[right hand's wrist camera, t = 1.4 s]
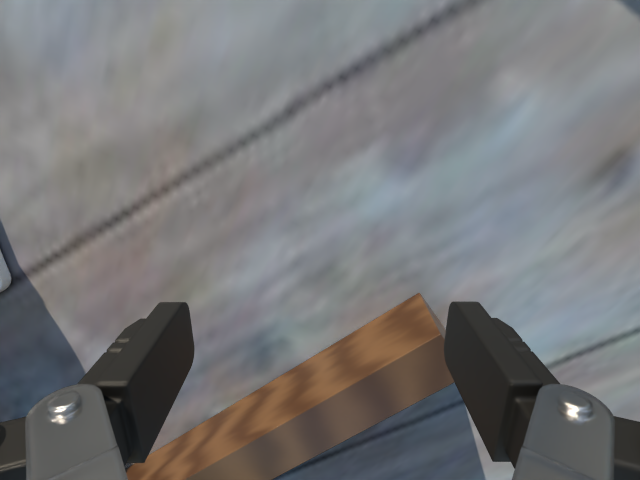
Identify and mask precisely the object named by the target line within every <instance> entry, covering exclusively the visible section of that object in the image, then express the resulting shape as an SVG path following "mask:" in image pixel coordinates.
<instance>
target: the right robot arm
mask: <svg viewBox="0 0 640 480" xmlns="http://www.w3.org/2000/svg"><path fill="white" fill-rule="evenodd" d="M444 357H445V362H446V365H447V367H448V370H449V372H450V374H451V376H452V378H453V380H454V382H455V384H456V386H457V388H458V390H459V392H460V394H461V397H462V399H463V401H464V403H465V405H466V407H467V409H468V411H469V413H470V415H471V417H472V419H473V421H474V424H475V426H476V428H477V430H478V432H479V434H480V436H481V438H482V440H483V442H484V444H485V446H486V448H487V451H488V453H489V455H490V457H491V459H492V461H493V462H511V463H512V465H513V467H514V468H515V471H514V474H513V478H512V480H640V422H637V421H633V420H629V419H624V418H620V417H615V416H613V414H612V413H611V411H610V410H609V409H608V408H607V406H606V405H604V404H603V403H602V402H601V401H600V400H598V399H597V398H596V397H594V396H592V395H591V394H589V393H587V392H585V391H583V390H580V389H578V388H575V387H572V386H568V385H563V384H560V383H559V382H558V381H557V380H556V378H555V377H554V376H553V375H552V374H551V373H550V371H549V370H548V369H547V368H546V367H545V365H544V364H543V363H542V362H541V361H540V360H539V358H538V357H537V356H536V355H535V354H534V353H533V352H531V349H530V348H529V347H528V346H527V344H526V343H525V342H522V339H521V337H520V336H519V335H518V334H517V333H516V332H515V330H514V329H513V328H512V327H510V326H509V325H507V324H506V323H504V322H502V321H501V320H499V319H498V318H491V317H490V316H489V314H488V313H487V312H486V311H485V309H484V308H483V307H482V306H481V304H480V303H479V302H452V303H451V304H450V306H449V312H448V319H447V326H446V334H445V341H444ZM193 358H194V341H193V334H192V326H191V319H190V312H189V307H188V305H187V303H185V302H161V303H159V304H158V305H157V306H156V307H155V308H154V310H153V311H152V312H151V313H150V315H149V316H148V317H147V318H146V319H140V320H138V321H136V322H135V323H133V324H132V325H130V326H129V327H127V328H125V329H124V331H123V332H122V333H121V334H120V335H119V336H118V338H117V339H116V340H115V343H112V345H111V346H110V347H109V348H108V349H107V352H106V353H104V354H103V355H102V356H101V357H100V358H99V360H98V361H97V362H96V363H95V364H94V365H93V367H92V368H91V369H90V370H89V371H88V372H87V374H86V375H85V376H84V377H83V378H82V379H81V381H80V382H79V383H78V384H77V385H72V386H68V387H65V388H62V389H60V390H57V391H55V392H53V393H51V394H49V395H48V396H46V397H44V398H43V399H42V400H40V401H39V402H38V403H37V404H36V405H34V406H33V408H32V409H31V410H30V411H29V413H28V414H27V416H26V417H23V418H18V419H14V420H10V421H5V422H1V423H0V480H128V478H127V474H126V471H125V467H124V466H125V464H126V463H145V461H146V459H147V457H148V454H149V452H150V450H151V448H152V446H153V444H154V442H155V440H156V438H157V436H158V434H159V432H160V430H161V428H162V426H163V424H164V422H165V420H166V418H167V416H168V413H169V411H170V409H171V407H172V405H173V403H174V401H175V399H176V397H177V395H178V393H179V391H180V389H181V387H182V385H183V383H184V381H185V379H186V377H187V374H188V372H189V370H190V368H191V366H192V363H193Z"/></svg>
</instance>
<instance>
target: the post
mask: <svg viewBox="0 0 640 480" xmlns="http://www.w3.org/2000/svg"><path fill="white" fill-rule="evenodd" d="M445 334H446V330H445V328H444V327H443V325H442V324H441V323H440V321H439V320H438V318H437V317H436V315H435V314H434V313H433V311H432V310H431V308H430V307H429V306H428V304H427V303H426V301H425V300H424V298H423V297H422V296H421V294H420V293H418V294H416V295H415V296H413V297H411V298H410V299H408V300H406V301H405V302H403V303H401V304H400V305H398V306H396V307H395V308H393V309H391V310H390V311H388V312H386V313H385V314H383V315H381V316H380V317H378V318H376V319H375V320H373V321H371V322H370V323H368V324H366V325H365V326H363V327H361V328H360V329H358V330H356V331H355V332H353V333H351V334H350V335H348V336H346V337H345V338H343V339H341V340H340V341H338V342H336V343H335V344H333V345H331V346H330V347H328V348H326V349H325V350H323V351H321V352H320V353H318V354H316V355H315V356H313V357H311V358H310V359H308V360H306V361H305V362H303V363H301V364H300V365H298V366H297V367H295V368H293V369H292V370H290V371H288V372H287V373H285V374H283V375H282V376H280V377H278V378H277V379H275V380H273V381H272V382H270V383H268V384H267V385H265V386H263V387H262V388H260V389H258V390H257V391H255V392H253V393H252V394H250V395H248V396H247V397H245V398H243V399H242V400H240V401H238V402H237V403H235V404H233V405H232V406H230V407H228V408H227V409H225V410H223V411H222V412H220V413H218V414H217V415H215V416H213V417H212V418H210V419H208V420H207V421H205V422H203V423H202V424H200V425H198V426H197V427H195V428H193V429H192V430H190V431H188V432H187V433H185V434H183V435H182V436H180V437H178V438H177V439H175V440H173V441H172V442H170V443H168V444H167V445H165V446H163V447H162V448H160V449H158V450H157V451H155V452H153V453H152V454H150V455H148V457H147V459H146V461H145V463H135V464H133V465H132V466H130V467H128V468H127V469H125V471H126V474H127V478H128V480H272V479H274V478H276V477H278V476H280V475H281V474H283V473H285V472H287V471H289V470H291V469H293V468H295V467H296V466H298V465H300V464H302V463H304V462H306V461H308V460H310V459H311V458H313V457H315V456H317V455H319V454H321V453H323V452H325V451H326V450H328V449H330V448H332V447H334V446H336V445H338V444H340V443H342V442H343V441H345V440H347V439H349V438H351V437H353V436H355V435H357V434H358V433H360V432H362V431H364V430H366V429H368V428H370V427H372V426H373V425H375V424H377V423H379V422H381V421H383V420H385V419H387V418H388V417H390V416H392V415H394V414H396V413H398V412H400V411H402V410H404V409H405V408H407V407H409V406H411V405H413V404H415V403H417V402H419V401H420V400H422V399H424V398H426V397H428V396H430V395H432V394H434V393H435V392H437V391H439V390H441V389H443V388H445V387H447V386H449V385H450V384H452V383H454V380H453V378H452V376H451V374H450V372H449V370H448V367H447V365H446V362H445V357H444V341H445Z"/></svg>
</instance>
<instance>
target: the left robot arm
mask: <svg viewBox="0 0 640 480" xmlns="http://www.w3.org/2000/svg"><path fill="white" fill-rule="evenodd" d="M10 284H11V274H10V272H9V269H8V267H7V265H6V262H5V260H4V257H3V255H2V252H1V250H0V292H2V291H4V290H5V289H6V288H8V287H9V285H10Z"/></svg>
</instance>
